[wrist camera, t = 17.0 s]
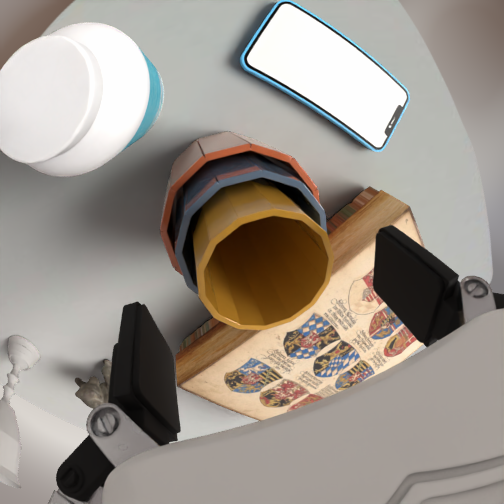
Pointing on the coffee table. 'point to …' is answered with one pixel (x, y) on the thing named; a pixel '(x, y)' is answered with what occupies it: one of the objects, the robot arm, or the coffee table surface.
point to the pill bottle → (76, 99)
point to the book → (309, 329)
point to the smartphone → (326, 73)
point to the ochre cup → (258, 256)
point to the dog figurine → (95, 388)
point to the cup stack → (221, 175)
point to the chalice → (3, 416)
